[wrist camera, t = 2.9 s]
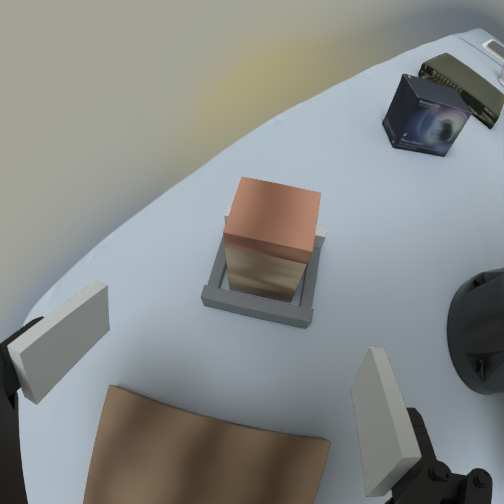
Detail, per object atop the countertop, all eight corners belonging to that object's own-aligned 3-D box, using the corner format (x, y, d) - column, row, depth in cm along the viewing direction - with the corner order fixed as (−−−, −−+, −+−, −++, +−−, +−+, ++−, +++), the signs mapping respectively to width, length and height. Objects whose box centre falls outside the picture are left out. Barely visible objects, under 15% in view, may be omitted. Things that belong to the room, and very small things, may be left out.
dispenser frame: (319, 243, 33) (327, 227, 30) (305, 328, 28) (313, 319, 25) (229, 224, 33) (227, 205, 30) (204, 305, 29) (199, 293, 26)
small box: (392, 150, 40) (417, 96, 31) (380, 122, 43) (400, 71, 34) (445, 159, 41) (474, 113, 31) (432, 132, 44) (455, 87, 34)
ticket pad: (298, 258, 32) (320, 193, 22) (289, 303, 30) (312, 251, 20) (242, 245, 32) (241, 176, 23) (229, 289, 30) (223, 232, 20)
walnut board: (325, 439, 24) (330, 441, 22) (288, 556, 17) (291, 565, 16) (117, 386, 25) (109, 384, 23) (91, 501, 19) (82, 506, 17)
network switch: (413, 80, 53) (420, 63, 49) (432, 59, 61) (437, 46, 57) (497, 139, 47) (508, 123, 42) (499, 105, 55) (506, 93, 51)
